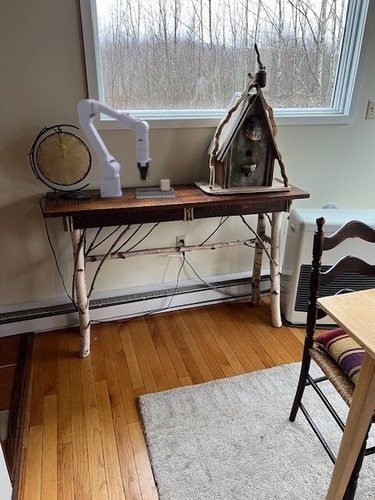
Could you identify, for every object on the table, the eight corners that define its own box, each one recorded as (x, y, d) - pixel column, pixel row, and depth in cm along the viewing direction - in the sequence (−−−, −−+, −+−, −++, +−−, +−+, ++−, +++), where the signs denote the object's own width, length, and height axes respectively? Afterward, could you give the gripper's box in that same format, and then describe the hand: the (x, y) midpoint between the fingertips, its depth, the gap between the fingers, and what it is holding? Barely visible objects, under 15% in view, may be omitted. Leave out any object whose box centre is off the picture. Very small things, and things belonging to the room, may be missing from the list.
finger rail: (136, 198, 169) (135, 183, 166) (136, 193, 177) (135, 179, 174) (174, 197, 171) (174, 182, 168) (172, 192, 180) (172, 178, 177)
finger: (139, 183, 168) (139, 170, 166) (139, 181, 172) (139, 168, 170) (149, 182, 169) (148, 169, 166) (148, 180, 173) (148, 168, 170)
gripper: (151, 151, 158) (152, 182, 164) (150, 146, 171) (151, 175, 177) (135, 151, 157) (137, 182, 163) (135, 146, 170) (137, 175, 176)
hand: (143, 178), depth 170 cm, fingers closed on finger, 4 cm apart
